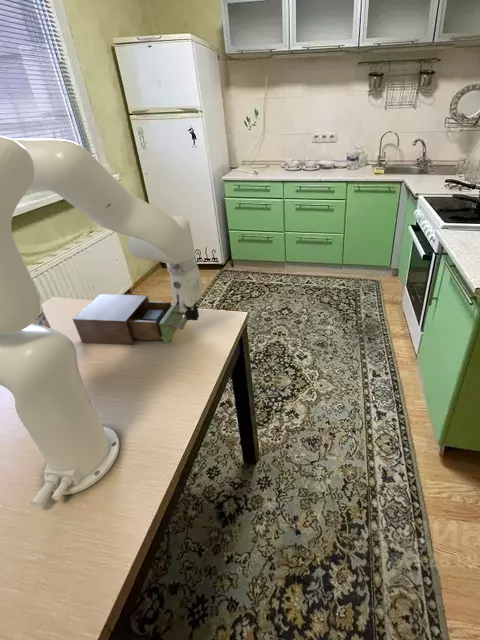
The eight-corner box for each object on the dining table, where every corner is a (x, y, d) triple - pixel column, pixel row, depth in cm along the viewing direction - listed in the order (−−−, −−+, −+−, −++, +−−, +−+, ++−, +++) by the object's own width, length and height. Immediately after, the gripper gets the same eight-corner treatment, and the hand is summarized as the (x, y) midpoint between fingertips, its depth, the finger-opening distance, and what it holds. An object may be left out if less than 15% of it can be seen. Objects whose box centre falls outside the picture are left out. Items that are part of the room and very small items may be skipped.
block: (159, 331, 94) (156, 319, 92) (145, 330, 95) (141, 318, 93) (166, 321, 98) (163, 310, 96) (152, 321, 98) (149, 309, 96)
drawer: (196, 318, 101) (192, 300, 98) (182, 343, 91) (178, 324, 88) (139, 316, 103) (134, 298, 100) (119, 340, 93) (112, 321, 90)
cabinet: (153, 317, 103) (147, 295, 99) (133, 345, 92) (125, 321, 88) (107, 316, 105) (100, 294, 101) (82, 343, 94) (72, 319, 90)
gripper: (184, 278, 79) (196, 336, 87) (204, 250, 92) (213, 303, 100) (155, 277, 79) (169, 335, 88) (179, 250, 92) (189, 303, 101)
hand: (193, 318), depth 94 cm, fingers closed
